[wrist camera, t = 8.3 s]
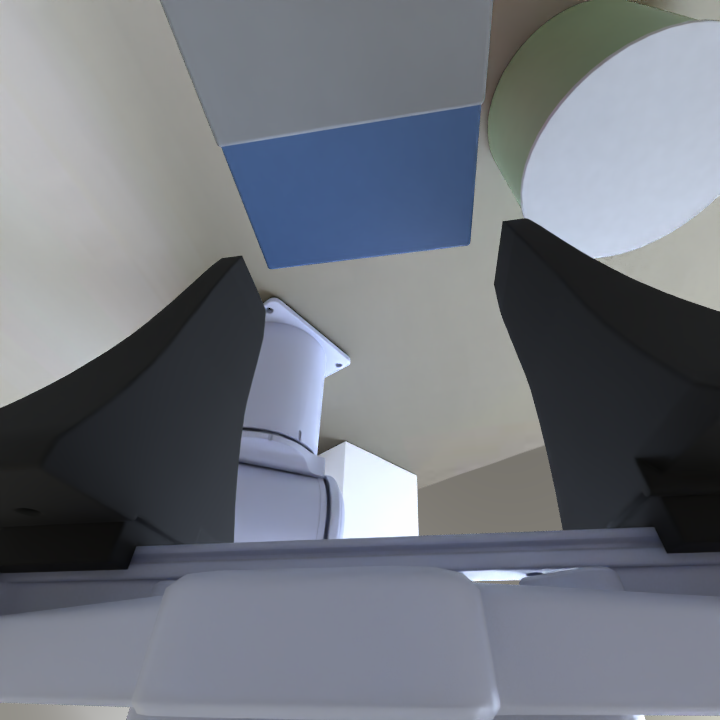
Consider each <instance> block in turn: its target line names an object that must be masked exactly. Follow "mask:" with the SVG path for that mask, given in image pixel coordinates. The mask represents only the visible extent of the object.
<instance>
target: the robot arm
mask: <svg viewBox="0 0 720 720" xmlns="http://www.w3.org/2000/svg"><path fill="white" fill-rule="evenodd" d="M494 286H495V291H496V295H497V300H498V304H499V308H500V312H501V315H502V318H503V321H504V323H505V326H506V328H507V331H508V333H509V336H510V338H511V341H512V343H513V346H514V348H515V350H516V353H517V355H518V358H519V360H520V363H521V365H522V368H523V370H524V373H525V375H526V378H527V381H528V383H529V386H530V389H531V393H532V396H533V400H534V404H535V407H536V411H537V415H538V418H539V422H540V426H541V430H542V434H543V439H544V443H545V446H546V451H547V455H548V459H549V464H550V469H551V473H552V478H553V482H554V487H555V492H556V496H557V502H558V507H559V512H560V517H561V523H562V528H563V530H560V531H534V532H508V533H480V534H456V535H455V534H454V535H427V536H400V537H373V538H346V539H343V533H344V521H345V509H344V500H343V496H342V493H341V491H340V489H339V487H338V484H337V482H336V480H335V479H334V478H333V477H331V476H328V475H324V473H325V460H326V459H325V458H324V457H320V456H317V450H318V440H319V429H320V418H321V408H322V397H323V386H324V378H325V377H327V376H329V375H331V374H332V373H334V372H336V371H338V370H340V369H342V368H344V367H346V366H348V365H349V364H350V357H349V356H348V355H346V354H345V353H344V352H343V351H341V350H340V349H339V348H338V347H337V346H335V345H334V344H333V343H332V342H331V341H329V340H328V339H327V338H326V337H325V336H323V335H322V334H321V333H320V332H318V331H317V330H316V329H315V328H314V327H312V326H311V325H310V324H309V323H308V322H306V321H305V320H304V319H303V318H302V317H300V316H299V315H298V314H297V313H295V312H294V311H293V310H292V309H291V308H289V307H288V306H287V305H286V304H285V303H283V302H282V301H281V300H280V299H278V298H270V299H268V300H267V301H266V302H264V303H263V302H262V300H261V298H260V295H259V293H258V291H257V289H256V286H255V284H254V282H253V280H252V277H251V275H250V273H249V270H248V268H247V266H246V264H245V261H244V259H243V257H242V256H236V257H229V258H222V259H220V260H219V261H217V262H216V263H215V264H214V265H212V266H211V267H210V268H209V269H208V270H207V271H205V272H204V273H203V274H202V275H201V276H200V277H199V278H198V279H197V280H195V281H194V282H193V283H192V284H191V285H190V286H189V287H188V288H187V289H186V290H185V291H183V292H182V293H181V294H180V295H179V296H178V297H177V298H176V299H175V300H173V301H172V302H171V303H170V304H169V305H168V306H166V307H165V308H164V309H163V310H162V311H160V312H159V313H158V314H157V315H156V316H154V317H153V318H152V319H151V320H150V321H148V322H147V323H146V324H145V325H143V326H142V327H141V328H140V329H138V330H137V331H136V332H134V333H133V334H132V335H130V336H129V337H127V338H126V339H124V340H123V341H122V342H120V343H119V344H117V345H116V346H114V347H113V348H111V349H110V350H108V351H107V352H105V353H104V354H102V355H100V356H99V357H97V358H95V359H94V360H92V361H90V362H89V363H87V364H85V365H84V366H82V367H80V368H79V369H77V370H75V371H74V372H72V373H70V374H69V375H67V376H65V377H63V378H61V379H59V380H57V381H55V382H54V383H52V384H50V385H48V386H46V387H44V388H42V389H40V390H38V391H36V392H34V393H32V394H30V395H28V396H26V397H24V398H22V399H20V400H17V401H15V402H13V403H11V404H9V405H6V406H4V407H2V408H0V703H25V704H55V705H84V706H115V707H130V709H129V712H128V716H127V719H126V720H645V718H644V715H683V716H687V715H689V716H701V715H702V716H720V312H719V311H716V310H713V309H710V308H707V307H704V306H701V305H698V304H695V303H692V302H689V301H686V300H683V299H681V298H678V297H675V296H673V295H670V294H667V293H665V292H662V291H660V290H658V289H655V288H653V287H650V286H648V285H646V284H643V283H641V282H639V281H636V280H634V279H632V278H630V277H628V276H626V275H624V274H622V273H620V272H618V271H616V270H614V269H612V268H610V267H608V266H606V265H604V264H603V263H601V262H599V261H597V260H595V259H593V258H592V257H590V256H588V255H586V254H585V253H583V252H581V251H580V250H578V249H576V248H575V247H573V246H572V245H570V244H568V243H567V242H565V241H564V240H562V239H560V238H559V237H557V236H556V235H554V234H553V233H551V232H550V231H548V230H546V229H545V228H543V227H542V226H540V225H538V224H537V223H535V222H533V221H532V220H530V219H528V218H525V219H517V220H510V221H503V224H502V231H501V238H500V245H499V252H498V260H497V267H496V274H495V281H494ZM267 308H271V309H272V310H269V309H267ZM338 363H340V364H338ZM492 580H493V581H494V580H521V581H520V582H519V585H509V584H492V583H475V582H472V581H492Z"/></svg>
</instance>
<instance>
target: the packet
mask: <svg viewBox="0 0 720 720" xmlns="http://www.w3.org/2000/svg"><path fill="white" fill-rule="evenodd" d="M160 2H161V4H162V7H163V9H164V12H165V14H166V17H167V19H168V22H169V24H170V27H171V30H172V32H173V35H174V37H175V40H176V42H177V45H178V47H179V50H180V52H181V55H182V57H183V60H184V62H185V65H186V67H187V70H188V72H189V75H190V78H191V80H192V83H193V85H194V88H195V90H196V93H197V95H198V98H199V100H200V103H201V105H202V108H203V110H204V113H205V115H206V118H207V120H208V123H209V126H210V128H211V131H212V133H213V136H214V138H215V141H216V143H217V145H218V146H220V147H221V148H222V150H223V153H224V155H225V158H226V161H227V163H228V166H229V168H230V171H231V173H232V176H233V179H234V181H235V184H236V186H237V189H238V191H239V194H240V196H241V199H242V202H243V204H244V207H245V209H246V212H247V214H248V217H249V220H250V222H251V225H252V227H253V230H254V232H255V235H256V238H257V240H258V243H259V245H260V248H261V250H262V253H263V255H264V258H265V261H266V263H267V266H268V268H269V269H277V268H286V267H294V266H302V265H310V264H319V263H327V262H335V261H344V260H352V259H360V258H369V257H377V256H385V255H393V254H402V253H410V252H418V251H427V250H435V249H443V248H451V247H460V246H468V245H469V244H470V240H471V227H472V214H473V202H474V189H475V176H476V164H477V151H478V138H479V126H480V113H481V104H482V103H483V102H484V99H485V91H486V80H487V68H488V56H489V44H490V32H491V20H492V9H493V0H160Z"/></svg>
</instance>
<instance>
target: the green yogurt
mask: <svg viewBox="0 0 720 720" xmlns="http://www.w3.org/2000/svg"><path fill="white" fill-rule="evenodd" d="M488 141H489V146H490V150H491V153H492V156H493V158H494V160H495V162H496V164H497V166H498V168H499V169H500V171H501V173H502V175H503V177H504V178H505V180H506V182H507V184H508V186H509V187H510V189H511V191H512V193H513V195H514V196H515V198H516V200H517V202H518V204H519V205H520V207H521V209H522V212H523V216H524V219H525V218H528V219H530V220H532V221H533V222H535V223H537V224H538V225H540V226H542V227H543V228H545V229H546V230H548V231H550V232H551V233H553V234H554V235H556V236H557V237H559V238H560V239H562V240H564V241H565V242H567V243H568V244H570V245H572V246H573V247H575V248H576V249H578V250H580V251H581V252H583V253H585V254H586V255H588V256H590V257H592V258H602V257H608V256H614V255H618V254H622V253H626V252H629V251H632V250H635V249H637V248H640V247H643V246H645V245H647V244H649V243H652V242H654V241H656V240H658V239H660V238H662V237H664V236H665V235H667V234H669V233H671V232H672V231H674V230H676V229H677V228H679V227H680V226H682V225H683V224H685V223H686V222H688V221H689V220H690V219H692V218H693V217H695V216H696V215H697V214H698V213H700V212H701V211H702V210H703V209H704V208H706V207H707V206H708V205H709V204H710V203H711V202H712V201H713V200H715V199H716V198H717V197H718V196H719V195H720V21H719V20H697V19H693V18H689V17H686V16H682V15H678V14H675V13H671V12H667V11H664V10H660V9H656V8H653V7H649V6H645V5H641V4H638V3H634V2H630V1H627V0H590V1H587V2H583V3H580V4H578V5H575V6H573V7H571V8H568V9H567V10H565V11H563V12H561V13H560V14H558V15H556V16H555V17H553V18H552V19H550V20H549V21H548V22H546V23H545V24H544V25H542V26H541V27H540V28H539V29H538V30H537V31H536V32H535V33H534V34H532V35H531V36H530V38H529V39H528V40H527V41H526V42H525V43H524V44H523V45H522V46H521V47H520V49H519V50H518V51H517V53H516V54H515V55H514V57H513V58H512V60H511V61H510V63H509V64H508V66H507V68H506V69H505V71H504V73H503V75H502V77H501V79H500V81H499V83H498V85H497V88H496V90H495V93H494V96H493V99H492V103H491V106H490V111H489V118H488Z"/></svg>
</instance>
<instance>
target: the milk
mask: <svg viewBox="0 0 720 720" xmlns="http://www.w3.org/2000/svg"><path fill="white" fill-rule="evenodd" d="M318 456H320V457H324V458H325V459H326V460H325V473H324V475H328V476H331V477H333V478H334V479H335V480H336V482H337V484H338V487H339V489H340V491H341V493H342V496H343V500H344V509H345V521H344V533H343V539H346V538H373V537H400V536H418V501H417V476H416V475H414V474H412V473H410V472H408V471H406V470H404V469H402V468H400V467H398V466H396V465H394V464H391V463H389V462H387V461H385V460H383V459H381V458H379V457H377V456H375V455H373V454H371V453H369V452H367V451H365V450H363V449H361V448H359V447H357V446H354V445H352V444H350V443H348V442H346V441H345V442H343V443H341V444H339V445H337V446H335V447H333V448H331V449H329V450H327V451H326V452H324V453H322V454H320V455H318Z"/></svg>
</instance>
